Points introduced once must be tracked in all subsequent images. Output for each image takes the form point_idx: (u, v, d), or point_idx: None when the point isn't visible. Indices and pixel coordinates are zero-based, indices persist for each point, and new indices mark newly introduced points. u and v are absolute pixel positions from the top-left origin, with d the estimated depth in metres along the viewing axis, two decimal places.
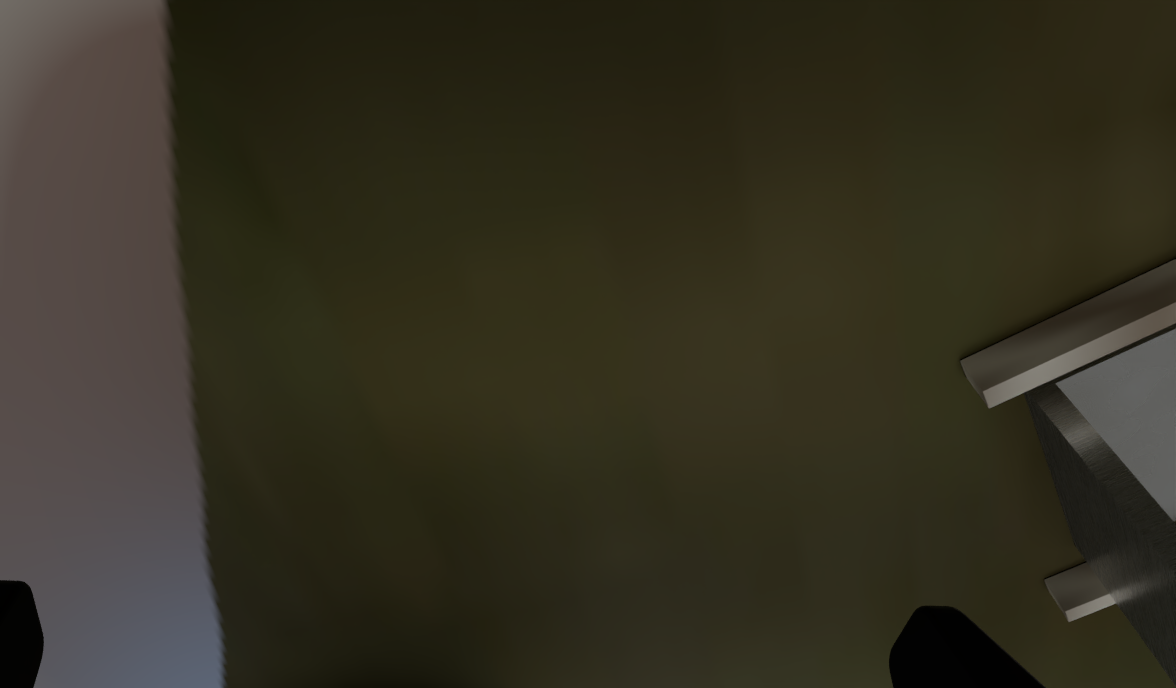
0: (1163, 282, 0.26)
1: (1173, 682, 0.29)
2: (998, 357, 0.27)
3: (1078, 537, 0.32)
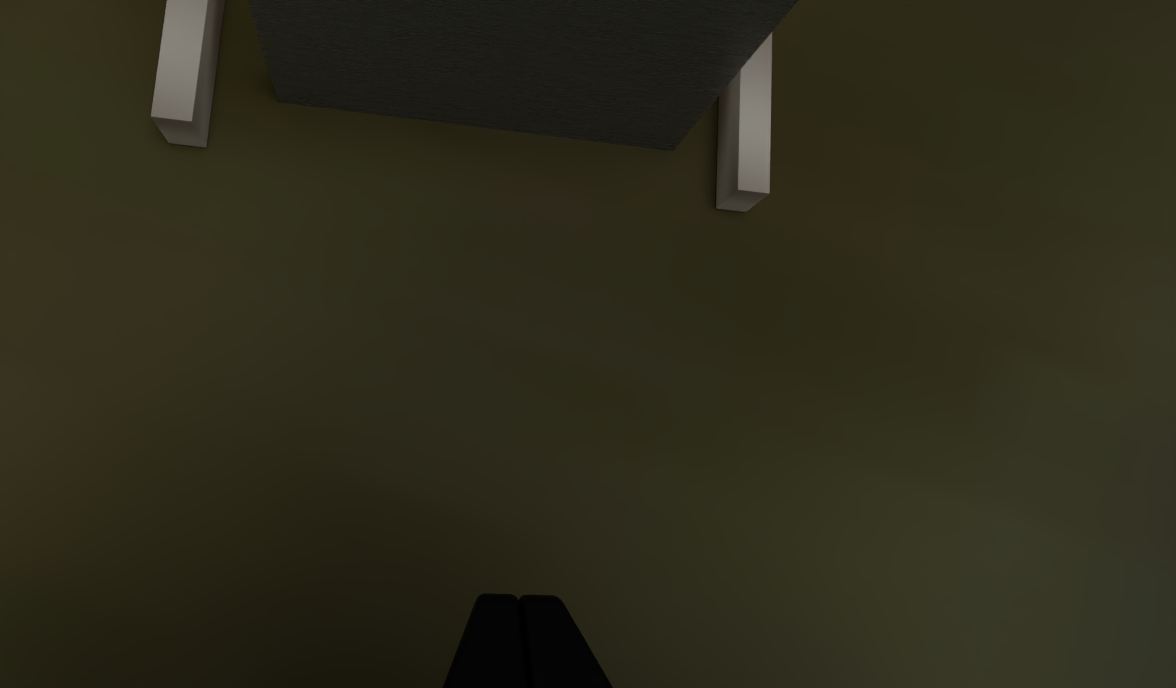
0: None
1: (764, 39, 0.17)
2: None
3: (616, 130, 0.21)
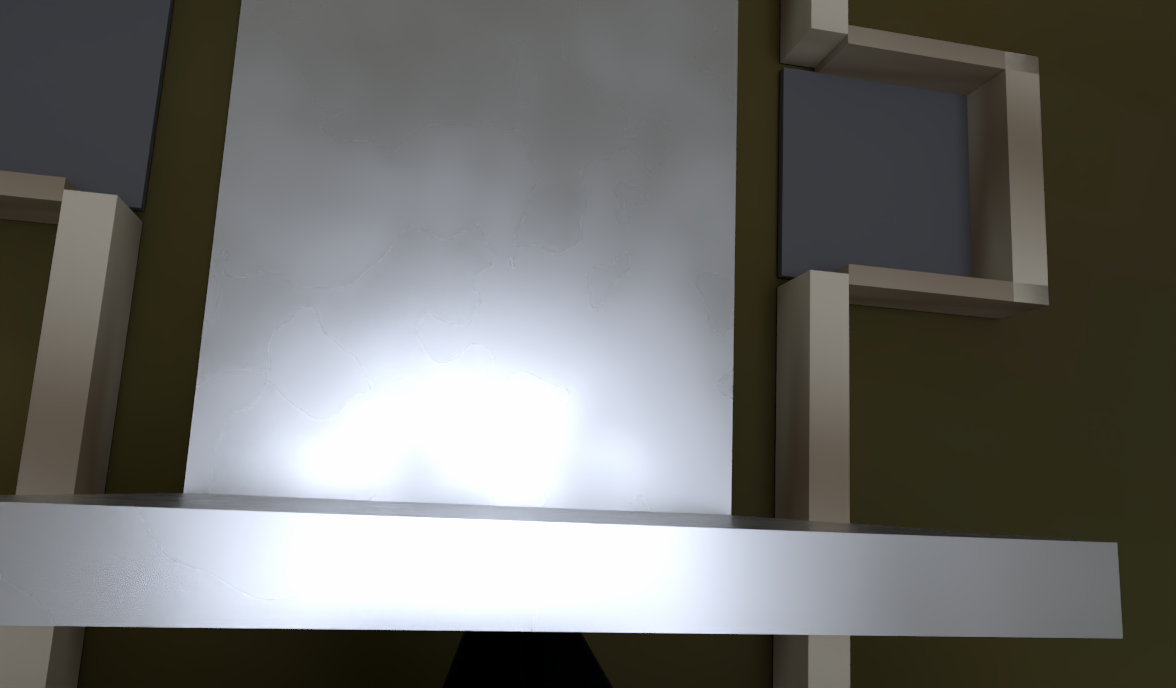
0: None
1: None
2: None
3: None
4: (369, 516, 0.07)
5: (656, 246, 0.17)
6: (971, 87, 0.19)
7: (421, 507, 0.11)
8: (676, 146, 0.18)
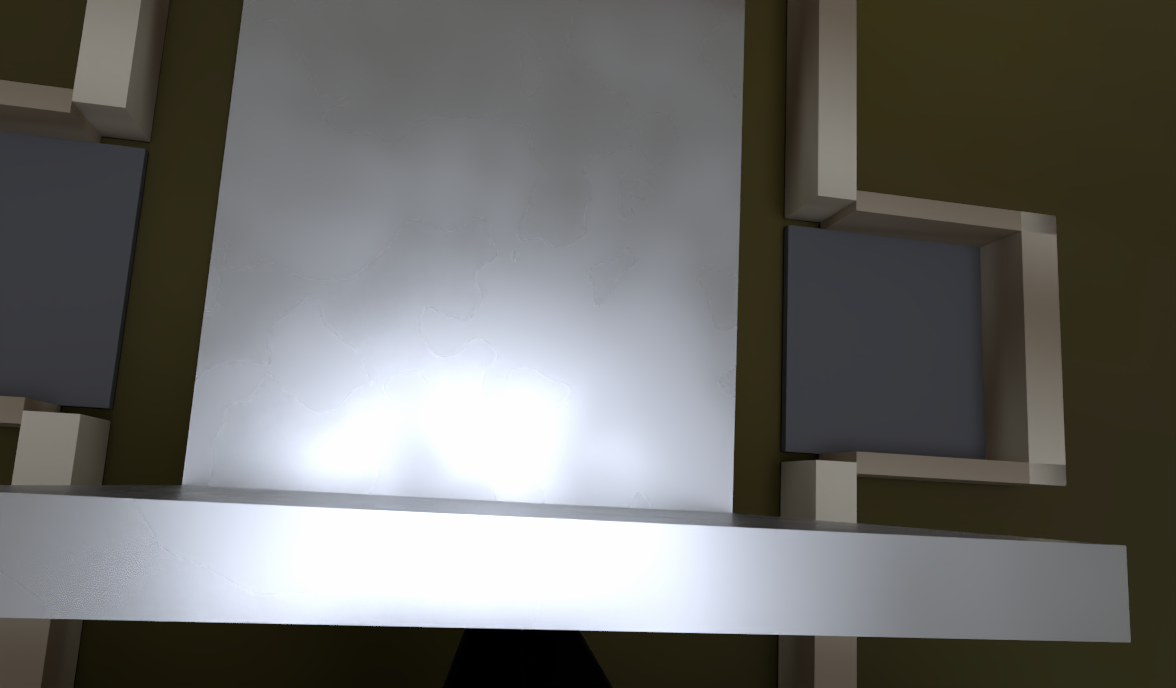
0: None
1: None
2: None
3: None
4: (369, 511, 0.06)
5: (660, 242, 0.17)
6: (985, 241, 0.19)
7: (421, 502, 0.11)
8: (681, 142, 0.17)
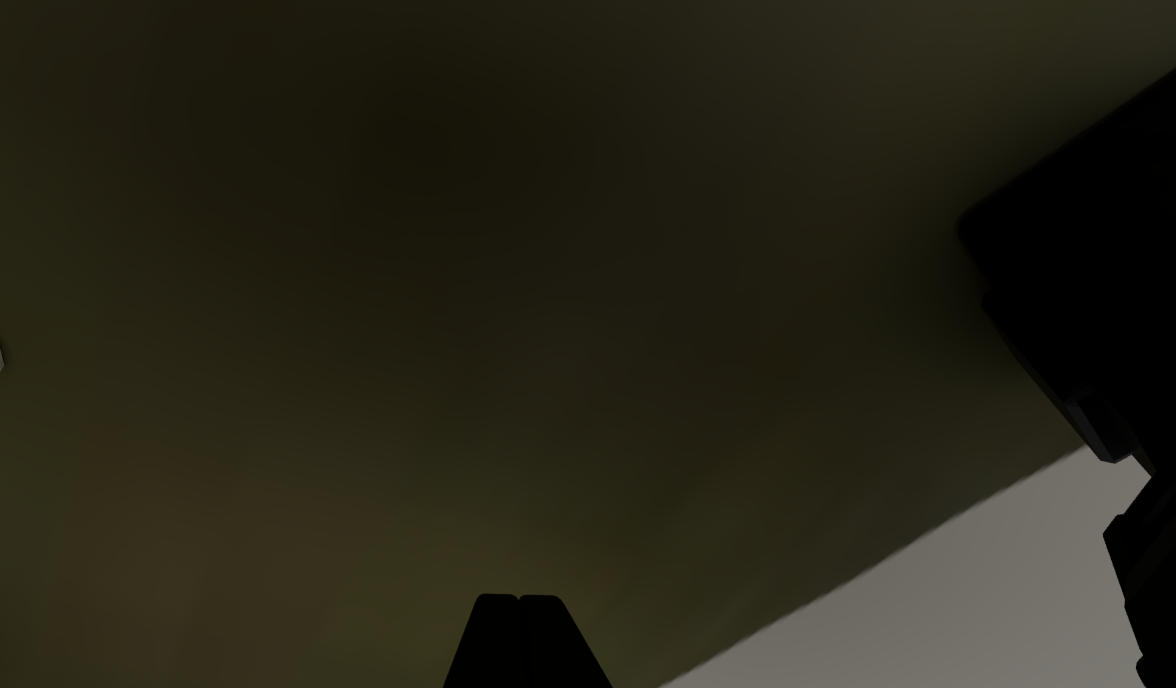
0: None
1: None
2: None
3: None
4: None
5: None
6: None
7: None
8: None
